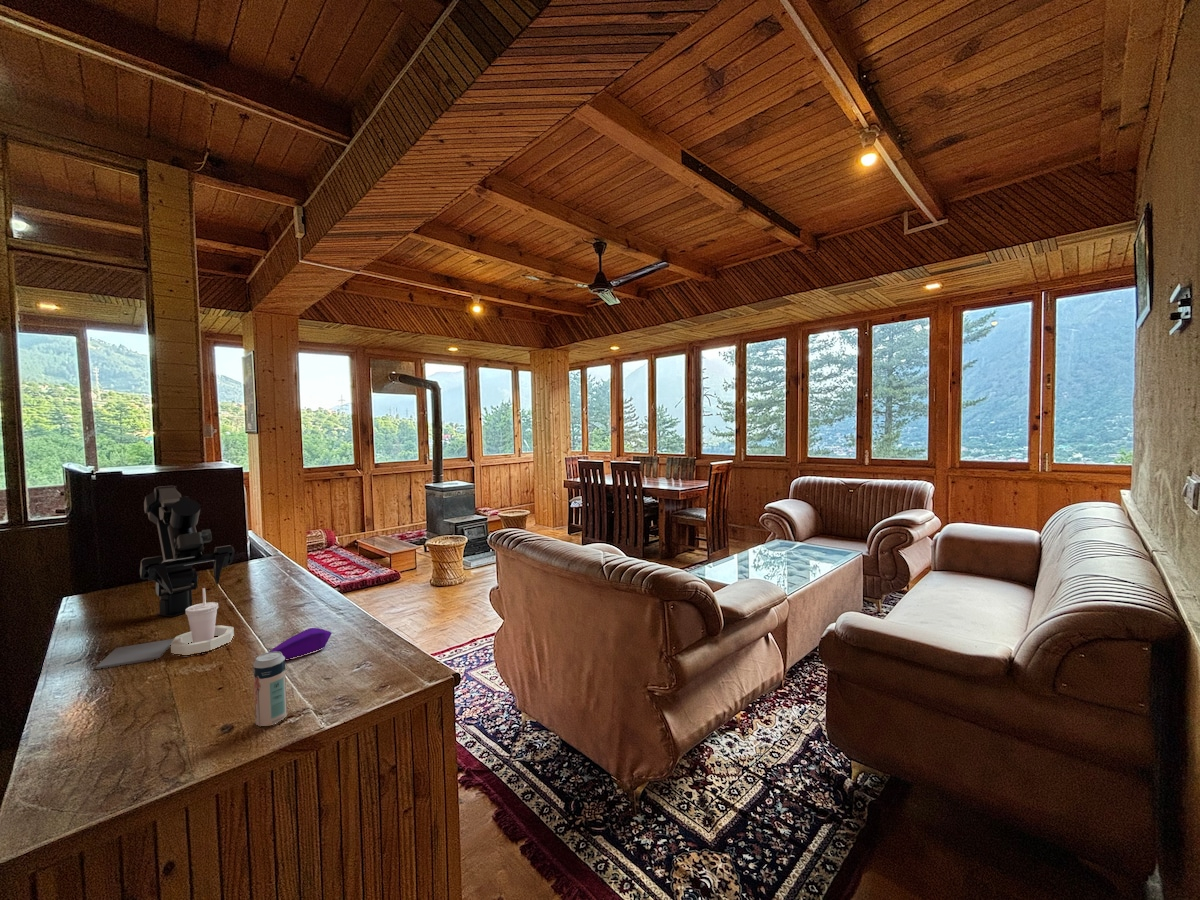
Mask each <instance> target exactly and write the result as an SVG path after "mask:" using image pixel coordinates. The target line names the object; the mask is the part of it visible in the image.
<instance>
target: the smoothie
mask: <svg viewBox="0 0 1200 900" xmlns="http://www.w3.org/2000/svg"><path fill="white" fill-rule="evenodd" d="M201 591H202V603H197V604H194V605H193V604H192V606H190V607H188V608H186V610H185V611H186V613H184V614H185V615H186V616H187V620H188V625H189V630H190V631H191V635H192V639H193V642H192V643H196V642H201V641H207V640H211V639H213V638H215V637H214V632H215V626H216V622H217V612H218V609H219V603H218V602H217V601H216V602H215V601H209V602H207V601H206V600H207V595H206V588H205V587H204V588H203V587H202V590H201Z"/></svg>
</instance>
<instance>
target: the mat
mask: <svg viewBox="0 0 1200 900" xmlns="http://www.w3.org/2000/svg"><path fill="white" fill-rule="evenodd" d="M174 639H175V638H169V639H163V640H158V641H150V642H144V643H137V644H132V645H125V646H120V647H119V646H118V647H115V648H114V649H113V650H112V651H111V652H110V653H109V654H108V655H107V656H106V657H104V659H103V660H100V662H99V663H98V664H97V665H96V666H95V667H94V668H95V669H98V670H102V669H101V668H103V669H109V668H115V667H120V665H121V666H126V664H127V665H131V664H136V663H137V664H138V663H143V662H149V661H150V662H151V661H155V660H154V659H156V660H159V659H158V658H160V657H161V656H162V657H163V655H164V654H165V653H166V652H167V651H168V650H169V649H170V648H171V646H170V645H171V643H172V641H173V640H174ZM166 650H167V651H166ZM165 651H166V652H165ZM164 652H165V653H164ZM163 653H164V654H163ZM162 657H161V658H162ZM161 658H160V659H161ZM108 667H109V668H108Z"/></svg>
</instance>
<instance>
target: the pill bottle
mask: <svg viewBox="0 0 1200 900" xmlns="http://www.w3.org/2000/svg"><path fill="white" fill-rule="evenodd" d="M252 666H253V681H254V682H253V683H254V684H253V686H254V688H253V689H254V690H253V691H254V709H255V711H254V712H255V725H256V726H257V725H258V727H261V726H266V725H270V724H275V723H277V722H279V721H281V720H282V721H283V720H285V719H286V718H285V717H287V716H288V702H287V684H286V683H287V678H286V661H285V657H284V656H283V655H282V653H281V652H277V651H274V652H269V651H268V652H265V653H263V654H259V655H258V656H257V657H256V658H255V660H254V662H253V664H252ZM284 718H285V719H284ZM282 721H281V722H282Z"/></svg>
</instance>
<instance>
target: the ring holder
mask: <svg viewBox="0 0 1200 900" xmlns="http://www.w3.org/2000/svg"><path fill="white" fill-rule="evenodd" d="M214 636H218V637H214V638H213V639H211V640H207V641H201V642H196V643H193V639H192V635H191V630H190V631H188V632H184V633H182V634H179V635H176V636H175V637H174V638H173V639H174V640H173V641H172V643H171V646H170V654H171V653H174V654H182V655H190V654H194V653H201V652H205V651H209V650H212V649H215V648H217V647H220V646H221V645H224V644H226V643H229V642H231V640H232V638H233V636H234V637H235V628H234V626H230V625H229V626H228V625H221V624H220V625H215V632H214ZM233 639H234V638H233ZM232 641H233V640H232ZM191 642H192V643H191ZM188 643H189V644H188ZM231 643H232V642H231ZM174 654H173V655H174Z"/></svg>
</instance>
